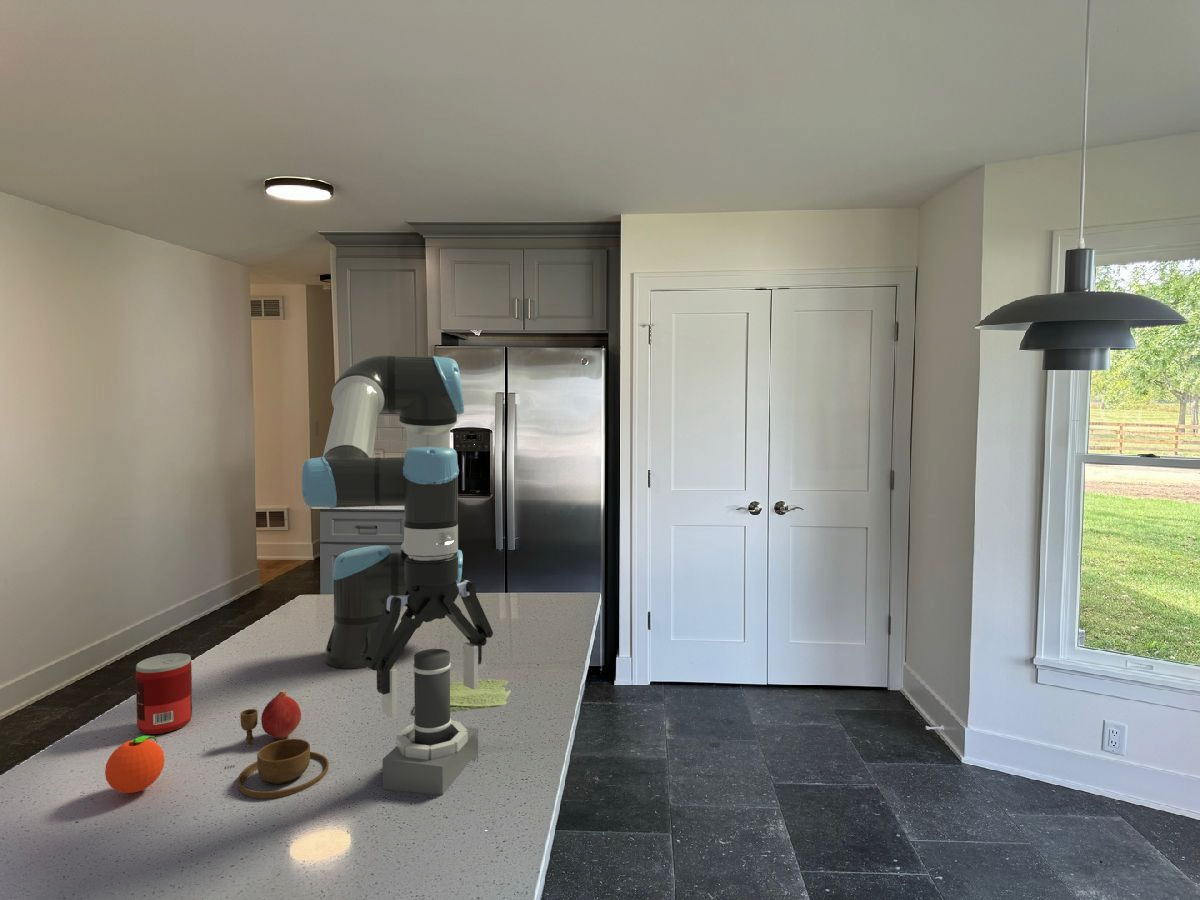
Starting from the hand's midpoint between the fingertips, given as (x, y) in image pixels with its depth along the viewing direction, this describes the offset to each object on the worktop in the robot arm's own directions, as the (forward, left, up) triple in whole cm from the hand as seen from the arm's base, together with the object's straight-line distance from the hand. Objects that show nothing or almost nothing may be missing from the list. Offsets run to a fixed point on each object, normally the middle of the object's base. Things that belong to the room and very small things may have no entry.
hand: (432, 700), depth 100 cm
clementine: (-39, -13, -11) cm, 42 cm away
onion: (-29, +5, -11) cm, 32 cm away
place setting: (-23, -2, -12) cm, 26 cm away
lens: (0, 0, -6) cm, 6 cm away
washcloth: (-6, +25, -12) cm, 28 cm away
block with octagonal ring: (0, 0, -11) cm, 11 cm away
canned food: (-52, +5, -11) cm, 53 cm away
